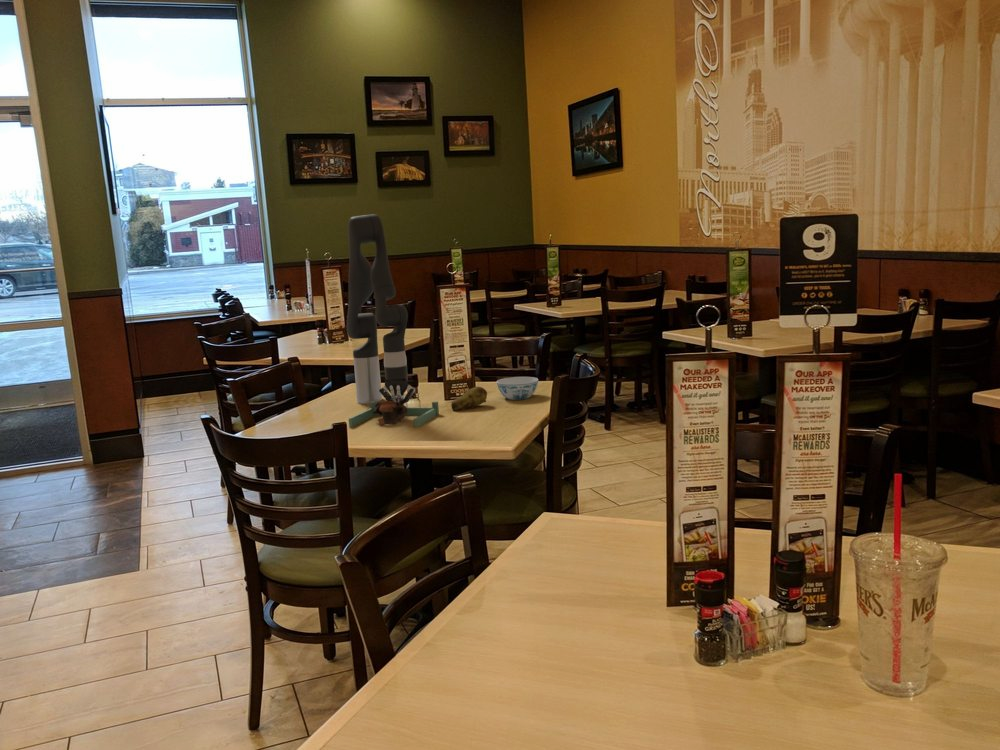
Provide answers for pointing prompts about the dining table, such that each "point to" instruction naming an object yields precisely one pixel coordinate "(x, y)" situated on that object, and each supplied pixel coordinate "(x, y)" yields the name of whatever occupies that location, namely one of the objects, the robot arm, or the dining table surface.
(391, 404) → the pottery mug
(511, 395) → the chinaware
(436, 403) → the teal bars
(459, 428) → the dining table surface
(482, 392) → the olive green tapered lump
